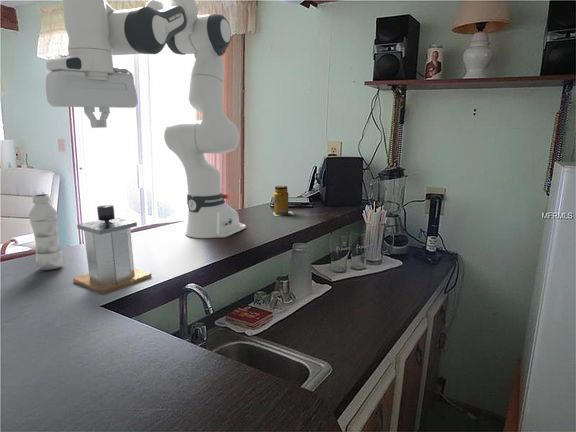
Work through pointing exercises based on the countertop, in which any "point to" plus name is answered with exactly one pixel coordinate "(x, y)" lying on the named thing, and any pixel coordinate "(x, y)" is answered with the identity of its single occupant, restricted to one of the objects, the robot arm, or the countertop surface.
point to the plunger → (106, 213)
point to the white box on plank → (109, 256)
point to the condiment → (281, 201)
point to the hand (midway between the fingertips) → (99, 127)
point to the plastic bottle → (45, 233)
